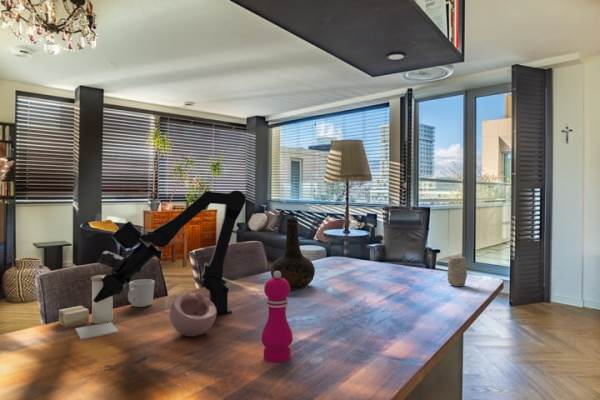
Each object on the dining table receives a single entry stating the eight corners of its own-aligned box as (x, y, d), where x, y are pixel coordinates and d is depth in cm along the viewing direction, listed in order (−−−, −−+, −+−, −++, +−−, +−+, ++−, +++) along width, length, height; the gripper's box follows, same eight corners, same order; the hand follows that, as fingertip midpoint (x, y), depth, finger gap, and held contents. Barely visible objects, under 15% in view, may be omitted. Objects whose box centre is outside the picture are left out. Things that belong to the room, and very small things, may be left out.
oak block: (88, 323, 112) (88, 309, 112) (65, 328, 108) (65, 314, 108) (81, 318, 117) (81, 305, 116) (58, 323, 112) (58, 309, 112)
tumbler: (115, 321, 114) (115, 277, 113) (93, 325, 110) (93, 279, 110) (111, 316, 118) (110, 273, 118) (89, 320, 115) (89, 276, 114)
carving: (469, 287, 157) (469, 258, 157) (450, 287, 157) (451, 257, 157) (463, 283, 163) (463, 255, 163) (445, 283, 163) (445, 255, 163)
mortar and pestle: (191, 347, 95) (191, 300, 95) (159, 337, 101) (159, 293, 101) (225, 332, 105) (225, 290, 105) (194, 324, 111) (194, 284, 111)
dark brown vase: (317, 282, 164) (317, 217, 164) (311, 293, 147) (311, 219, 146) (276, 281, 167) (276, 216, 167) (265, 291, 150) (265, 219, 149)
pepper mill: (261, 351, 93) (261, 268, 92) (291, 350, 93) (291, 267, 93) (261, 364, 86) (261, 274, 85) (293, 363, 86) (294, 273, 86)
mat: (118, 332, 105) (118, 330, 105) (80, 339, 99) (80, 338, 99) (111, 323, 112) (111, 321, 112) (75, 329, 106) (75, 328, 106)
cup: (140, 312, 123) (140, 287, 123) (118, 310, 124) (118, 285, 124) (159, 302, 133) (159, 279, 133) (138, 301, 135) (138, 278, 135)
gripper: (122, 238, 124) (84, 274, 121) (109, 245, 106) (64, 288, 103) (149, 261, 126) (112, 297, 123) (140, 273, 108) (97, 315, 105)
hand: (97, 298), depth 114 cm, fingers closed on tumbler, 5 cm apart
